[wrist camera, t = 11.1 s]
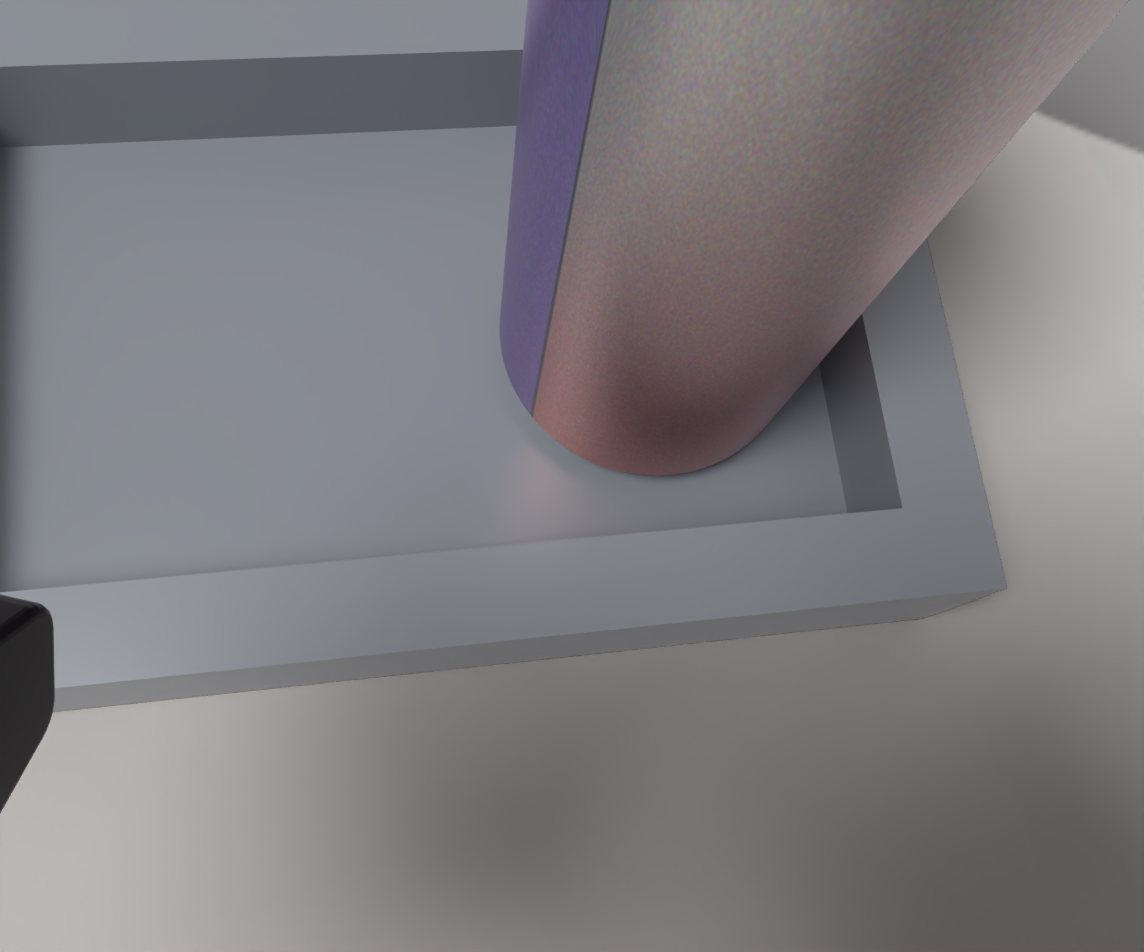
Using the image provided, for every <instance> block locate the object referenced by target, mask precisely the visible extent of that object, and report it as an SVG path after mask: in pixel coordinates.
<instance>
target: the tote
mask: <svg viewBox="0 0 1144 952" xmlns="http://www.w3.org/2000/svg"><path fill="white" fill-rule="evenodd" d="M526 10H527V0H0V594H1V595H5V596H10V597H14V598H19V599H23V600H28V601H32V602H37V603H40V604H42V605H43V606H45V607H46V608H47V609H48V610H49V611H50V613H51V616H52V619H53V626H54V675H55V702H54V708H53V712H59V711H68V710H78V709H87V708H96V707H106V706H115V705H124V704H133V703H143V702H152V701H161V700H171V699H180V698H189V697H198V696H208V695H217V694H226V693H236V692H245V691H254V690H264V689H273V688H282V687H291V686H301V685H310V684H319V683H329V682H338V681H347V680H356V679H366V678H375V677H384V676H394V675H403V674H412V673H421V672H431V671H440V670H449V669H459V668H468V667H477V666H486V665H496V664H505V663H514V662H524V661H533V660H542V659H551V658H561V657H570V656H579V655H589V654H598V653H607V652H616V651H626V650H635V649H644V648H654V647H663V646H672V645H681V644H691V643H700V642H709V641H719V640H728V639H737V638H746V637H756V636H765V635H774V634H784V633H793V632H802V631H811V630H821V629H830V628H839V627H849V626H858V625H867V624H876V623H886V622H895V621H904V620H914V619H923V618H926V617H929V616H932V615H935V614H937V613H940V612H943V611H946V610H949V609H951V608H954V607H957V606H960V605H962V604H965V603H968V602H971V601H973V600H976V599H979V598H982V597H985V596H987V595H990V594H993V593H996V592H998V591H1001V590H1004V589H1007V585H1006V580H1005V576H1004V572H1003V567H1002V563H1001V559H1000V554H999V550H998V546H997V541H996V537H995V533H994V528H993V524H992V520H991V515H990V511H989V506H988V502H987V498H986V493H985V489H984V485H983V480H982V476H981V472H980V467H979V463H978V459H977V454H976V450H975V446H974V441H973V437H972V433H971V428H970V424H969V420H968V415H967V411H966V406H965V402H964V398H963V393H962V389H961V385H960V380H959V376H958V372H957V367H956V363H955V359H954V354H953V350H952V346H951V341H950V337H949V333H948V328H947V324H946V319H945V315H944V311H943V306H942V302H941V298H940V293H939V289H938V285H937V280H936V276H935V272H934V267H933V263H932V259H931V254H930V250H929V246H928V241H927V238H926V239H925V240H924V242H923V243H922V244H921V245H920V246H919V247H918V249H917V250H916V251H915V252H914V253H913V254H912V256H911V257H910V258H909V259H908V260H907V261H906V263H905V264H904V265H903V266H902V267H901V269H900V270H899V271H898V272H897V273H896V274H895V276H894V277H893V278H892V279H891V280H890V281H889V283H888V284H887V285H886V286H885V287H884V288H883V290H882V291H881V292H880V293H879V294H878V295H877V297H876V298H875V299H874V300H873V301H872V302H871V304H870V305H869V306H868V307H867V308H866V309H865V311H864V312H863V313H862V314H861V315H860V317H859V318H858V319H857V320H856V321H855V322H854V324H853V325H852V326H851V327H850V328H849V329H848V331H847V332H846V333H845V334H844V335H843V336H842V338H841V339H840V340H839V341H838V342H837V343H836V345H835V346H834V347H833V348H832V349H831V350H830V352H829V353H828V354H827V355H826V356H825V358H824V359H823V360H822V361H821V362H820V363H819V365H818V366H817V367H816V368H815V369H814V370H813V372H812V373H811V374H810V375H809V376H808V377H807V379H806V380H805V381H804V382H803V383H802V384H801V386H800V387H799V388H798V389H797V390H796V391H795V393H794V394H793V395H792V396H791V397H790V399H789V400H788V401H787V402H786V403H785V404H784V406H783V407H782V408H781V409H780V410H779V411H778V413H777V414H776V415H775V416H774V417H773V418H772V420H771V421H770V422H769V423H768V424H767V425H766V427H765V428H764V429H763V430H762V431H761V432H760V433H759V434H758V435H757V436H756V437H755V438H754V439H753V440H752V441H751V442H750V443H748V444H747V445H746V446H745V447H743V448H742V449H741V450H739V451H738V452H736V453H735V454H733V455H731V456H730V457H728V458H726V459H724V460H722V461H720V462H718V463H716V464H713V465H711V466H708V467H705V468H702V469H699V470H695V471H692V472H687V473H681V474H674V475H659V476H654V475H639V474H631V473H626V472H621V471H617V470H613V469H609V468H606V467H604V466H601V465H598V464H595V463H593V462H591V461H589V460H586V459H584V458H583V457H581V456H579V455H577V454H575V453H573V452H572V451H570V450H569V449H567V448H565V447H564V446H563V445H561V444H560V443H559V442H557V441H556V440H555V439H554V438H552V437H551V436H550V435H549V434H548V433H547V432H546V431H545V430H544V429H543V428H542V427H541V426H540V425H539V424H538V423H537V422H536V421H535V420H534V419H533V417H532V416H531V415H530V414H529V412H528V411H527V410H526V408H525V407H524V405H523V404H522V402H521V401H520V399H519V397H518V396H517V394H516V392H515V390H514V388H513V386H512V384H511V381H510V379H509V376H508V374H507V371H506V368H505V364H504V361H503V356H502V351H501V344H500V331H499V329H500V311H501V299H502V288H503V276H504V265H505V253H506V241H507V230H508V218H509V207H510V195H511V184H512V172H513V160H514V149H515V137H516V126H517V114H518V102H519V91H520V79H521V68H522V56H523V45H524V33H525V21H526Z"/></svg>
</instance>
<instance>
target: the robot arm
mask: <svg viewBox="0 0 1144 952" xmlns="http://www.w3.org/2000/svg"><path fill="white" fill-rule="evenodd" d="M54 702H55V675H54V626H53V619H52V616H51V613H50V611H49V610H48V609H47V608H46V607H45V606H43V605H42V604H40V603H37V602H32V601H28V600H23V599H19V598H14V597H10V596H5V595H1V594H0V813H1V811H2V809H3V808H4V806H5V804H6V802H7V801H8V799H9V797H10V795H11V793H12V792H13V790H14V788H15V786H16V784H17V783H18V781H19V779H20V777H21V776H22V774H23V772H24V770H25V768H26V767H27V765H28V763H29V761H30V760H31V758H32V756H33V754H34V752H35V751H36V749H37V747H38V745H39V743H40V742H41V740H42V738H43V736H44V734H45V732H46V730H47V728H48V725H49V723H50V720H51V716H52V713H53V708H54Z"/></svg>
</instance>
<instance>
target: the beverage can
mask: <svg viewBox="0 0 1144 952" xmlns="http://www.w3.org/2000/svg"><path fill="white" fill-rule="evenodd" d="M1128 1H1129V0H527V10H526V21H525V33H524V45H523V56H522V68H521V79H520V91H519V102H518V114H517V126H516V137H515V149H514V160H513V172H512V184H511V195H510V207H509V218H508V230H507V241H506V253H505V265H504V276H503V288H502V299H501V311H500V329H499V331H500V344H501V351H502V356H503V361H504V364H505V368H506V371H507V374H508V376H509V379H510V381H511V384H512V386H513V388H514V390H515V392H516V394H517V396H518V397H519V399H520V401H521V402H522V404H523V405H524V407H525V408H526V410H527V411H528V412H529V414H530V415H531V416H532V417H533V419H534V420H535V421H536V422H537V423H538V424H539V425H540V426H541V427H542V428H543V429H544V430H545V431H546V432H547V433H548V434H549V435H550V436H551V437H552V438H554V439H555V440H556V441H557V442H559V443H560V444H561V445H563V446H564V447H565V448H567V449H569V450H570V451H572V452H573V453H575V454H577V455H579V456H581V457H583V458H584V459H586V460H589V461H591V462H593V463H595V464H598V465H601V466H604V467H606V468H609V469H613V470H617V471H621V472H626V473H631V474H639V475H654V476H659V475H674V474H681V473H687V472H692V471H695V470H699V469H702V468H705V467H708V466H711V465H713V464H716V463H718V462H720V461H722V460H724V459H726V458H728V457H730V456H731V455H733V454H735V453H736V452H738V451H739V450H741V449H742V448H743V447H745V446H746V445H747V444H748V443H750V442H751V441H752V440H753V439H754V438H755V437H756V436H757V435H758V434H759V433H760V432H761V431H762V430H763V429H764V428H765V427H766V425H767V424H768V423H769V422H770V421H771V420H772V418H773V417H774V416H775V415H776V414H777V413H778V411H779V410H780V409H781V408H782V407H783V406H784V404H785V403H786V402H787V401H788V400H789V399H790V397H791V396H792V395H793V394H794V393H795V391H796V390H797V389H798V388H799V387H800V386H801V384H802V383H803V382H804V381H805V380H806V379H807V377H808V376H809V375H810V374H811V373H812V372H813V370H814V369H815V368H816V367H817V366H818V365H819V363H820V362H821V361H822V360H823V359H824V358H825V356H826V355H827V354H828V353H829V352H830V350H831V349H832V348H833V347H834V346H835V345H836V343H837V342H838V341H839V340H840V339H841V338H842V336H843V335H844V334H845V333H846V332H847V331H848V329H849V328H850V327H851V326H852V325H853V324H854V322H855V321H856V320H857V319H858V318H859V317H860V315H861V314H862V313H863V312H864V311H865V309H866V308H867V307H868V306H869V305H870V304H871V302H872V301H873V300H874V299H875V298H876V297H877V295H878V294H879V293H880V292H881V291H882V290H883V288H884V287H885V286H886V285H887V284H888V283H889V281H890V280H891V279H892V278H893V277H894V276H895V274H896V273H897V272H898V271H899V270H900V269H901V267H902V266H903V265H904V264H905V263H906V261H907V260H908V259H909V258H910V257H911V256H912V254H913V253H914V252H915V251H916V250H917V249H918V247H919V246H920V245H921V244H922V243H923V242H924V240H925V239H926V238H927V237H928V236H929V235H930V233H931V232H932V231H933V230H934V229H935V228H936V226H937V225H938V224H939V223H940V222H941V220H942V219H943V218H944V217H945V216H946V215H947V213H948V212H949V211H950V210H951V209H952V208H953V206H954V205H955V204H956V203H957V202H958V201H959V199H960V198H961V197H962V196H963V195H964V194H965V192H966V191H967V190H968V189H969V188H970V187H971V185H972V184H973V183H974V182H975V181H976V180H977V178H978V177H979V176H980V175H981V174H982V172H983V171H984V170H985V169H986V168H987V167H988V165H989V164H990V163H991V162H992V161H993V160H994V158H995V157H996V156H997V155H998V154H999V153H1000V151H1001V150H1002V149H1003V148H1004V147H1005V146H1006V144H1007V143H1008V142H1009V141H1010V140H1011V139H1012V137H1013V136H1014V135H1015V134H1016V133H1017V131H1018V130H1019V129H1020V128H1021V127H1022V126H1023V124H1024V123H1025V122H1026V121H1027V120H1028V119H1029V117H1030V116H1031V115H1032V114H1033V113H1034V112H1035V110H1036V109H1037V108H1038V107H1039V106H1040V105H1041V103H1042V102H1043V101H1044V100H1045V99H1046V98H1047V96H1048V95H1049V94H1050V93H1051V92H1052V90H1053V89H1054V88H1055V87H1056V86H1057V84H1058V83H1059V82H1060V81H1061V80H1062V79H1063V78H1064V76H1065V75H1066V74H1067V73H1068V72H1069V70H1070V69H1071V68H1072V67H1073V66H1074V65H1075V64H1076V62H1077V61H1078V60H1079V59H1080V58H1081V57H1082V55H1083V54H1084V53H1085V52H1086V51H1087V49H1088V48H1089V47H1090V46H1091V45H1092V44H1093V42H1094V41H1095V40H1096V39H1097V38H1098V37H1099V35H1100V34H1101V33H1102V32H1103V31H1104V30H1105V28H1106V27H1107V26H1108V25H1109V24H1110V23H1111V21H1112V20H1113V19H1114V18H1115V17H1116V16H1117V14H1118V13H1119V12H1120V11H1121V9H1122V8H1123V7H1124V6H1125V5H1126V4H1127V3H1128Z"/></svg>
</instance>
